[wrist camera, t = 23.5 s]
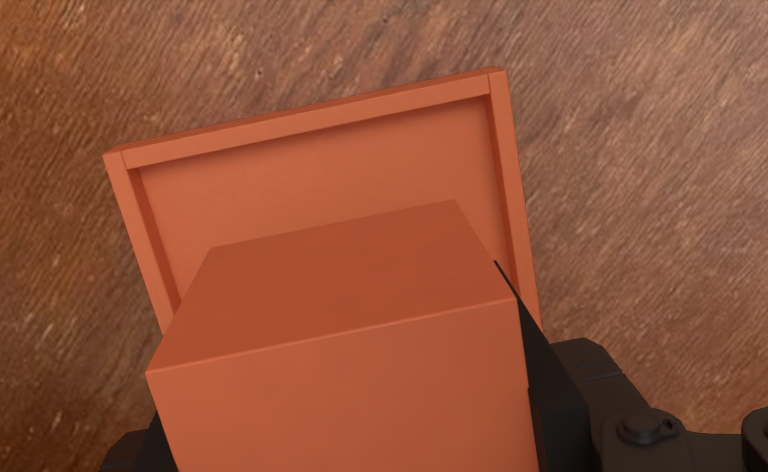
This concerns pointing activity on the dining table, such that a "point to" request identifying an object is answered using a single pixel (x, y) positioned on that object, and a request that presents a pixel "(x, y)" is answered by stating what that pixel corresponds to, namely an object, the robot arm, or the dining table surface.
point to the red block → (348, 353)
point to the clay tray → (327, 177)
